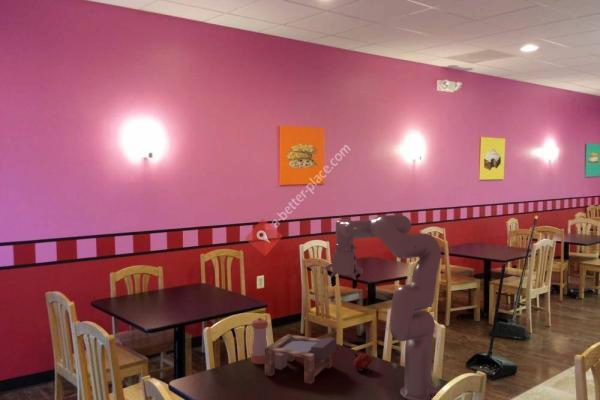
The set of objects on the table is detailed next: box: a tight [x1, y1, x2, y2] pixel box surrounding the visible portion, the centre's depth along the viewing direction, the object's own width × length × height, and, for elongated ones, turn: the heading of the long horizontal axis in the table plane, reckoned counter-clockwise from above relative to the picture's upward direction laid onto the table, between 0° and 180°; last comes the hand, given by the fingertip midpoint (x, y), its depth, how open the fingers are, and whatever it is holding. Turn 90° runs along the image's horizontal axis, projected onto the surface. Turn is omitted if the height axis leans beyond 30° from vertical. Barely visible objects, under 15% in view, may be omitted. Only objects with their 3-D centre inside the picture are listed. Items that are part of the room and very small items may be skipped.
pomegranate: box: [353, 352, 373, 372], centre depth 222 cm, size 7×7×10 cm
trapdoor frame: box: [264, 333, 333, 385], centre depth 221 cm, size 21×21×11 cm
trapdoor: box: [280, 337, 337, 361], centre depth 219 cm, size 21×14×5 cm
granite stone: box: [275, 353, 288, 371], centre depth 226 cm, size 5×5×6 cm
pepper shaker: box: [250, 317, 269, 365], centre depth 231 cm, size 7×7×19 cm
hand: (344, 287), depth 232 cm, fingers open, 9 cm apart
